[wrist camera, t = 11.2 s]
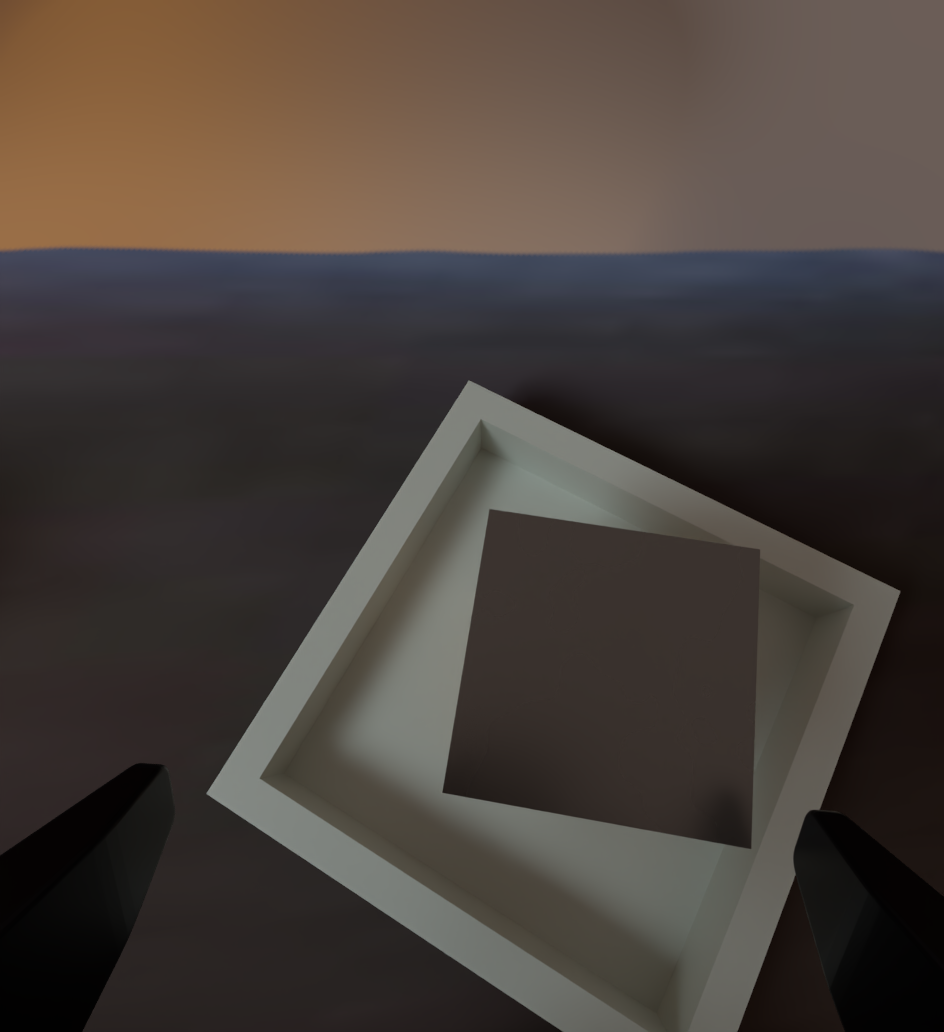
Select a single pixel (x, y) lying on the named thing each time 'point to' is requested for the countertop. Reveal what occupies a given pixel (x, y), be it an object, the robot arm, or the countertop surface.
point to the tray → (532, 833)
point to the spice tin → (611, 678)
